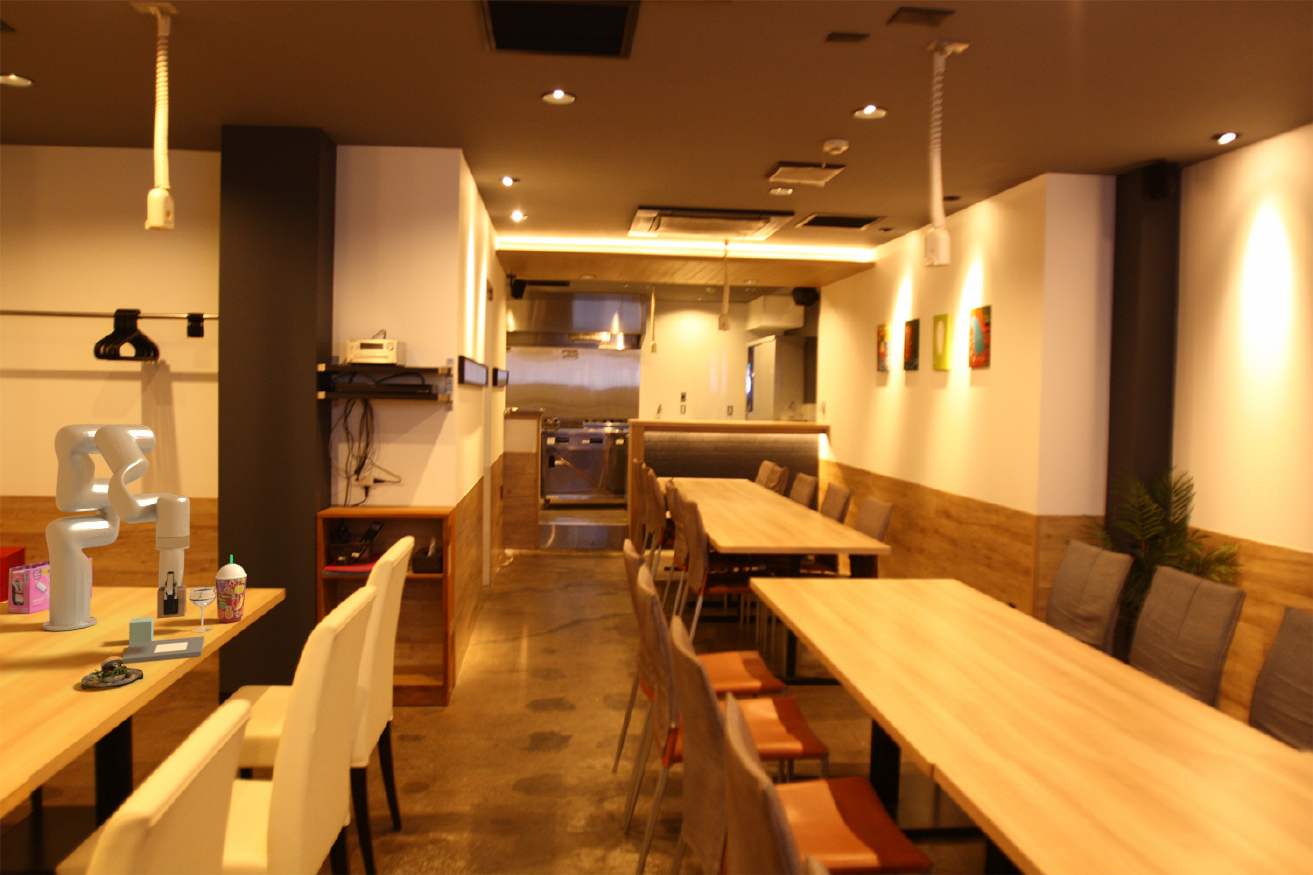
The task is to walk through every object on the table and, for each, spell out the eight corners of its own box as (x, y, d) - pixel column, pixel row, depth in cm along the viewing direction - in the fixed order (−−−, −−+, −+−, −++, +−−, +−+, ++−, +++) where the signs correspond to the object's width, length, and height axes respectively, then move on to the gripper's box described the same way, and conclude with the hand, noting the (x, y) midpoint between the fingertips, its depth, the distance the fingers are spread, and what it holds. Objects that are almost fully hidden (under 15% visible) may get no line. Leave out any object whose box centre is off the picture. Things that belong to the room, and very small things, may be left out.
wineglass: (219, 630, 225) (219, 588, 224) (192, 634, 220) (193, 592, 219) (211, 625, 229) (211, 584, 229) (185, 629, 224) (185, 588, 224)
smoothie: (208, 622, 232) (209, 555, 232) (232, 615, 240) (233, 551, 240) (228, 625, 229) (229, 558, 229) (252, 619, 237) (253, 554, 237)
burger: (74, 694, 173) (74, 661, 173) (88, 677, 184) (88, 646, 183) (137, 688, 178) (138, 656, 178) (148, 672, 189) (148, 642, 188)
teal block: (131, 640, 213) (132, 618, 213) (153, 638, 215) (153, 616, 215) (129, 645, 208) (129, 623, 208) (151, 643, 211) (151, 621, 211)
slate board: (130, 647, 206) (130, 642, 206) (203, 640, 214) (203, 635, 214) (121, 664, 193) (121, 658, 193) (200, 656, 201) (200, 651, 201)
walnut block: (159, 613, 204) (159, 586, 204) (186, 610, 207) (186, 584, 207) (157, 618, 199) (157, 591, 199) (184, 616, 202) (184, 589, 202)
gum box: (25, 615, 234) (26, 570, 234) (2, 613, 235) (2, 569, 235) (93, 597, 258) (93, 556, 257) (71, 596, 259) (72, 555, 258)
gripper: (159, 538, 209) (158, 605, 209) (151, 548, 193) (151, 620, 194) (191, 537, 212) (191, 602, 213) (187, 547, 197) (186, 617, 197)
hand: (172, 610), depth 203 cm, fingers closed on walnut block, 6 cm apart
